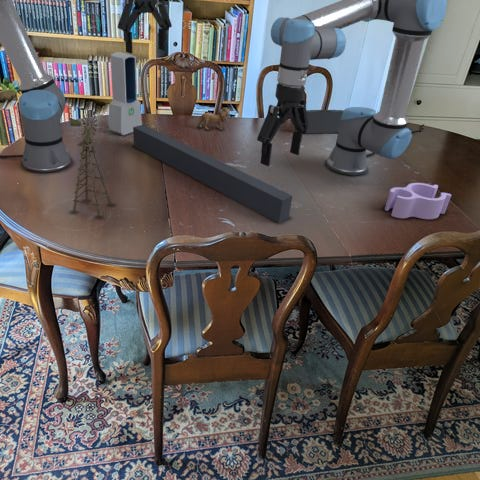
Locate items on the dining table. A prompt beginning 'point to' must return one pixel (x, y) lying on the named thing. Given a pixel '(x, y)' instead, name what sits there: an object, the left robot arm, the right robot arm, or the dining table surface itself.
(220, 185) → the post
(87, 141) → the miniature windmill
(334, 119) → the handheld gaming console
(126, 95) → the electronic device
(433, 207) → the clip
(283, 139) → the dining table surface
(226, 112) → the lion figurine
